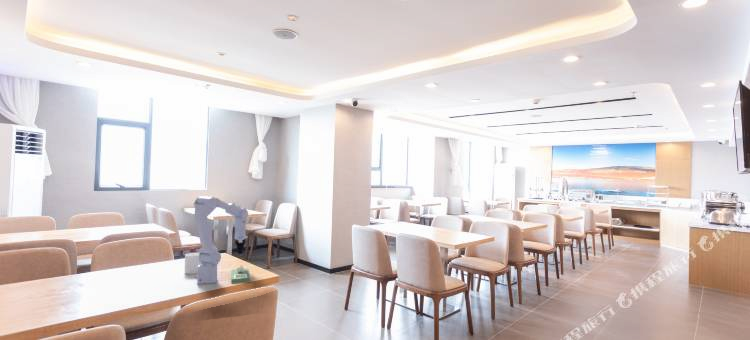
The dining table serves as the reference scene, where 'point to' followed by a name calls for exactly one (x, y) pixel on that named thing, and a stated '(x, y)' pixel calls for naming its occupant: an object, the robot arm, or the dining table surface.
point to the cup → (192, 263)
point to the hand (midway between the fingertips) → (239, 252)
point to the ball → (240, 268)
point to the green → (240, 276)
